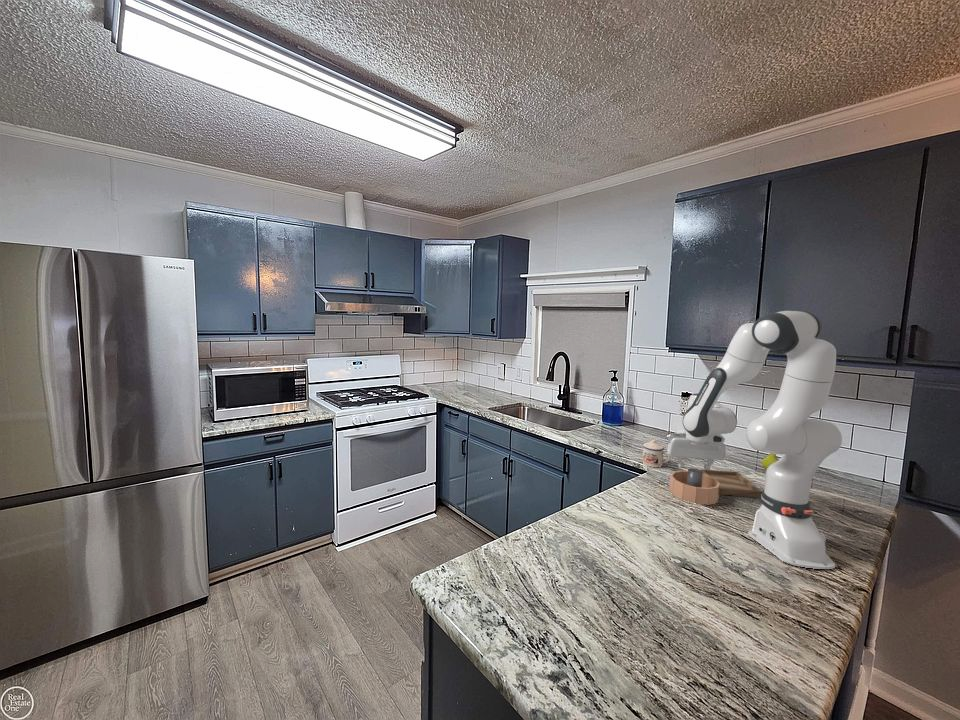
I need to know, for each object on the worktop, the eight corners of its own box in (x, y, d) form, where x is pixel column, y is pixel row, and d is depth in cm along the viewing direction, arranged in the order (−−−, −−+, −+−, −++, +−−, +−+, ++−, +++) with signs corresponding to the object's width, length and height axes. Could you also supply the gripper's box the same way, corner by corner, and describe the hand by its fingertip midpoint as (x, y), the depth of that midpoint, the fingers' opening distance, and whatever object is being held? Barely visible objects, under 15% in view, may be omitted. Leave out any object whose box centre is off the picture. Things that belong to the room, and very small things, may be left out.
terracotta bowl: (725, 507, 147) (727, 490, 146) (677, 503, 149) (679, 486, 148) (707, 487, 163) (708, 472, 162) (664, 484, 165) (665, 469, 165)
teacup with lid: (639, 464, 187) (640, 440, 185) (645, 459, 194) (646, 436, 192) (666, 471, 179) (668, 446, 178) (671, 465, 186) (673, 441, 185)
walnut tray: (761, 498, 154) (762, 492, 154) (719, 495, 156) (720, 489, 156) (736, 477, 174) (737, 471, 174) (699, 474, 176) (700, 469, 176)
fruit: (771, 475, 177) (774, 449, 175) (757, 469, 183) (760, 444, 182) (783, 473, 179) (786, 447, 177) (768, 468, 185) (771, 442, 184)
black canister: (702, 498, 153) (704, 473, 152) (688, 497, 154) (690, 472, 153) (697, 492, 158) (699, 468, 157) (684, 491, 159) (686, 467, 158)
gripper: (671, 435, 152) (668, 469, 154) (729, 438, 149) (725, 473, 151) (666, 429, 158) (663, 463, 160) (722, 433, 155) (718, 466, 157)
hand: (694, 468), depth 155 cm, fingers open, 8 cm apart
